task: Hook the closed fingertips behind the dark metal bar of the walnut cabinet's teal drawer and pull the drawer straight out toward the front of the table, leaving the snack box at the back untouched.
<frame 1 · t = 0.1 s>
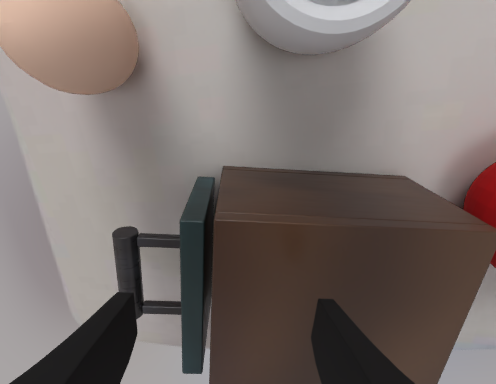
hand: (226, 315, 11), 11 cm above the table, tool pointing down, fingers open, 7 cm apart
cabinet: (304, 239, 23), on the table
drawer: (253, 270, 19), point 4 cm above the table, slide at 0.5 cm
ornament: (490, 189, 22), on the table
egg: (111, 47, 18), on the table
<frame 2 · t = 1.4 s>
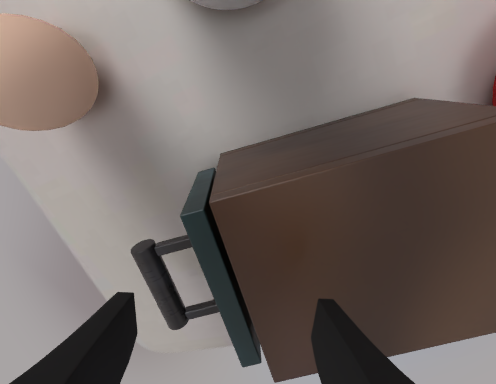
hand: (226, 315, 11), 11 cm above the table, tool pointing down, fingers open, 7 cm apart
cabinet: (329, 201, 22), on the table
drawer: (281, 246, 18), point 4 cm above the table, slide at 0.5 cm
egg: (76, 77, 18), on the table
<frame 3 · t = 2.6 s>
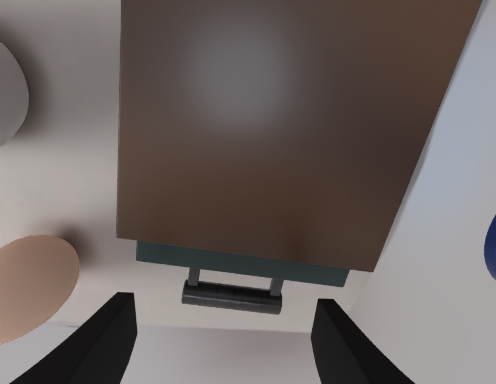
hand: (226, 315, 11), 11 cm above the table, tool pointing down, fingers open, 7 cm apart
cabinet: (263, 89, 18), on the table
drawer: (254, 175, 16), point 4 cm above the table, slide at 0.5 cm
egg: (62, 247, 22), on the table
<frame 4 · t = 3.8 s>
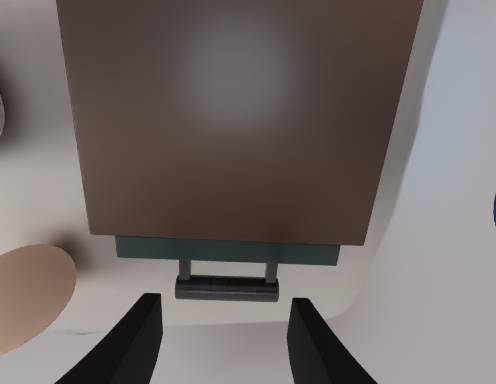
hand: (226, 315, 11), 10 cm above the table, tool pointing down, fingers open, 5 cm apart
cabinet: (238, 72, 18), on the table
drawer: (234, 159, 15), point 4 cm above the table, slide at 0.5 cm
egg: (59, 255, 22), on the table
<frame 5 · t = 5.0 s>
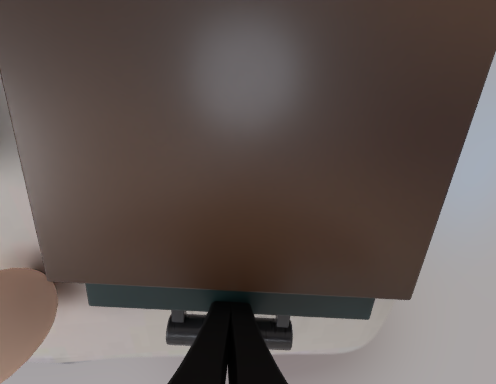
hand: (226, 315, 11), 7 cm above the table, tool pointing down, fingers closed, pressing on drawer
cabinet: (246, 68, 15), on the table
drawer: (239, 179, 12), point 4 cm above the table, slide at 0.6 cm, touching gripper
egg: (41, 278, 20), on the table
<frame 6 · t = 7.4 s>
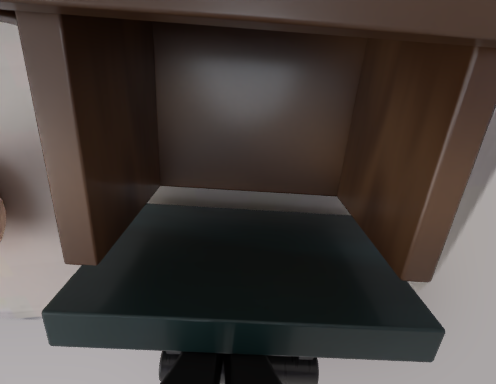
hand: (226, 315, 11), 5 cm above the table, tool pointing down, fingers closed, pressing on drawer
drawer: (253, 172, 9), point 4 cm above the table, slide at 6.5 cm, touching gripper
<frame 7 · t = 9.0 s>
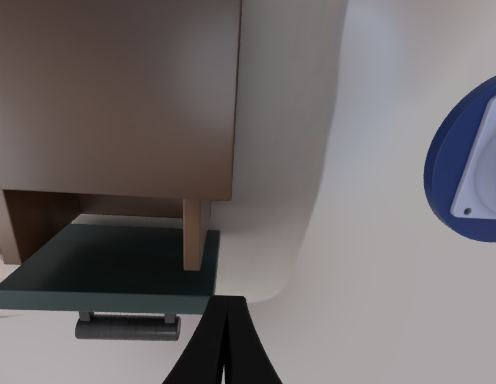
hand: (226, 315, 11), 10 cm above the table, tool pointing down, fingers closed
cabinet: (138, 30, 17), on the table
drawer: (125, 209, 16), point 4 cm above the table, slide at 5.5 cm
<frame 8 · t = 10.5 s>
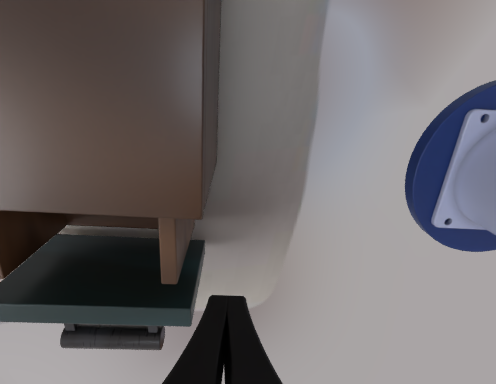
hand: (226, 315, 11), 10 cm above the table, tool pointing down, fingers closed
cabinet: (121, 46, 17), on the table
drawer: (107, 222, 16), point 4 cm above the table, slide at 5.5 cm
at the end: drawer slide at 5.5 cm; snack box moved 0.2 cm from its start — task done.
